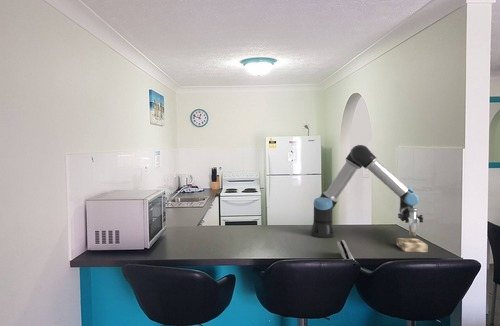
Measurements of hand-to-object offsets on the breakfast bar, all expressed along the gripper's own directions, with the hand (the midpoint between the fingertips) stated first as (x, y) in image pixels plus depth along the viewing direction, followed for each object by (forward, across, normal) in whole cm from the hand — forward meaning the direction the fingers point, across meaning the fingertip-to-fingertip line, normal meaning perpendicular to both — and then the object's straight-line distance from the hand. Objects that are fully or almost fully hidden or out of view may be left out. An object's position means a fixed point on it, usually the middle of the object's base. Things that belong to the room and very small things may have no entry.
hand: (414, 222), depth 176 cm
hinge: (+26, +35, -16) cm, 46 cm away
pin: (-5, 0, -8) cm, 10 cm away
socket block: (-5, 0, -16) cm, 17 cm away
